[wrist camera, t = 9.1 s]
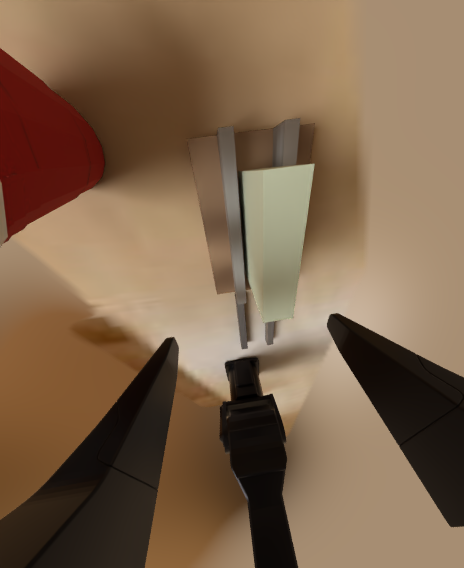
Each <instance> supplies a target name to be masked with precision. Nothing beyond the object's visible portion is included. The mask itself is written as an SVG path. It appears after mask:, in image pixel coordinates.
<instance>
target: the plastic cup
mask: <svg viewBox="0 0 464 568" xmlns="http://www.w3.org/2000/svg"><path fill="white" fill-rule="evenodd" d="M104 165H105V161H104V156H103V151H102V146H101V144H100V142H99V140H98V138H97V136H96V135H95V133H94V131H93V129H92V128H91V126H90V125H89V124H88V123H87V122H86V121H85V120H84V119H83V117H82V116H81V115H80V114H79V113H78V112H77V111H76V110H75V108H74V107H73V106H72V105H70V104H69V103H68V102H66V101H65V100H64V99H63V98H61V97H60V96H59V95H57V94H56V93H55V92H53V91H52V90H51V89H49V87H48V86H47V85H46V84H45V83H44V82H43V81H42V80H41V79H39V78H38V77H37V76H36V75H34V74H33V73H32V72H30V71H29V70H28V69H27V68H25V67H24V66H23V65H21V64H20V63H19V62H17V61H16V60H15V59H14V58H12V57H11V56H10V55H8V54H7V53H6V52H5V51H3V50H2V49H1V48H0V247H1V246H2V244H3V243H5V242H7V241H8V240H9V239H10V238H11V236H12V235H14V234H16V233H18V232H19V231H21V230H23V229H24V228H25V227H26V226H27V224H29V223H31V222H33V221H35V220H37V219H38V218H40V217H42V216H44V215H46V214H48V213H49V212H51V211H53V210H55V209H57V208H59V207H60V206H62V205H64V204H66V203H68V202H70V201H71V200H73V199H75V198H77V197H78V196H79V195H80V194H81V193H83V192H85V191H87V190H89V189H91V188H93V186H94V185H95V184H96V183H97V182H98V181H99V180H100V179H101V177H102V175H103V170H104Z"/></svg>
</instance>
